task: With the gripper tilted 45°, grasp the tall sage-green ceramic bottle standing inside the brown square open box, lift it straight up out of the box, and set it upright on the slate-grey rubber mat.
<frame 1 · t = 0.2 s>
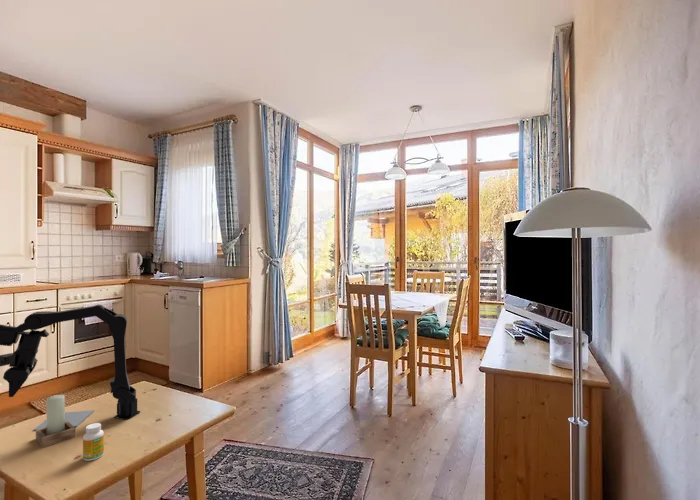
hand: (14, 392, 131), 15 cm above the table, tool pointing down, fingers open, 9 cm apart
green bottle: (55, 417, 130), in the brown square open box
mat: (65, 420, 143), on the table
brown square open box: (55, 437, 130), on the table
supplement bottle: (93, 457, 118), on the table
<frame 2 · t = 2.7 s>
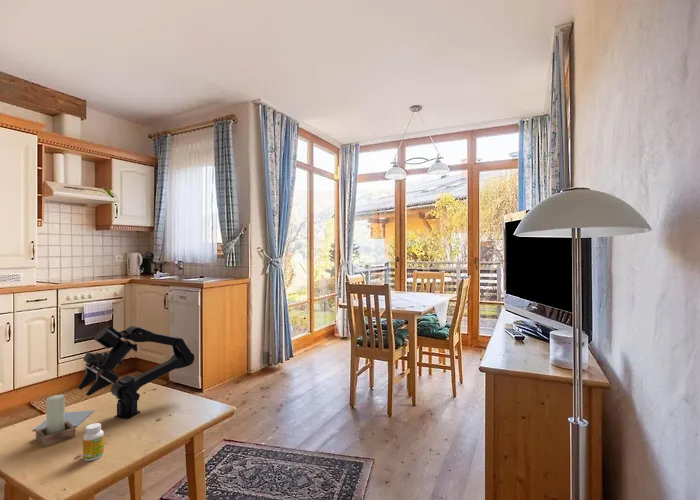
hand: (83, 392, 136), 13 cm above the table, tool tilted 45°, fingers open, 9 cm apart
nothing on the table moved.
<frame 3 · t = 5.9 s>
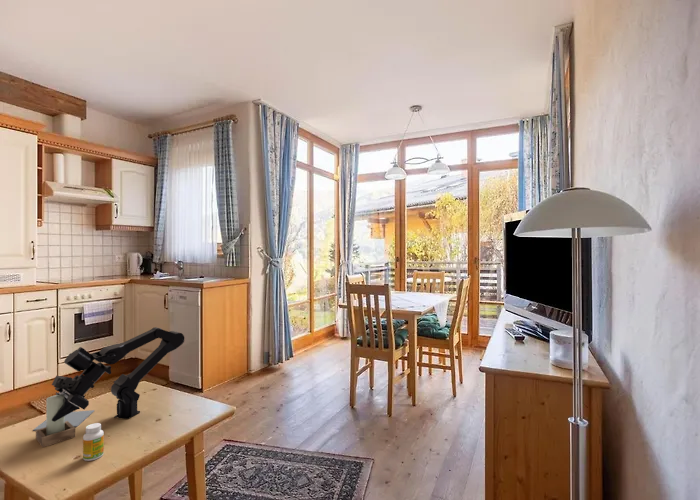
hand: (50, 418, 129), 7 cm above the table, tool tilted 45°, fingers closed on green bottle, 5 cm apart
green bottle: (55, 417, 130), in the brown square open box, touching gripper
everything else where it was.
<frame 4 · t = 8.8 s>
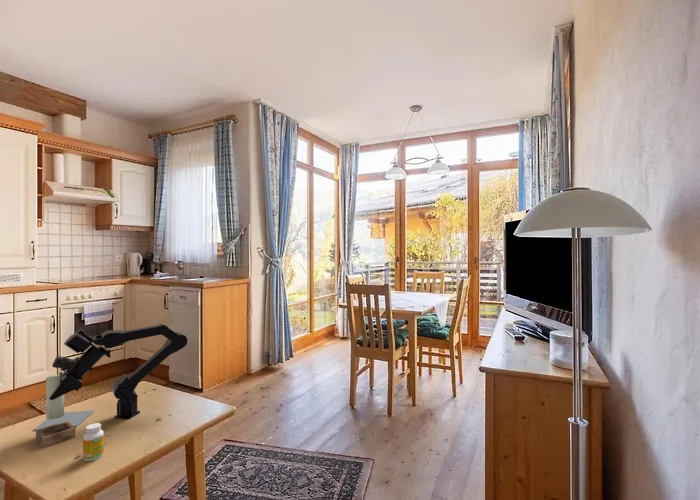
hand: (50, 397, 133), 13 cm above the table, tool tilted 45°, fingers closed on green bottle, 5 cm apart
green bottle: (55, 396, 133), point 13 cm above the table, touching gripper
everything else where it was.
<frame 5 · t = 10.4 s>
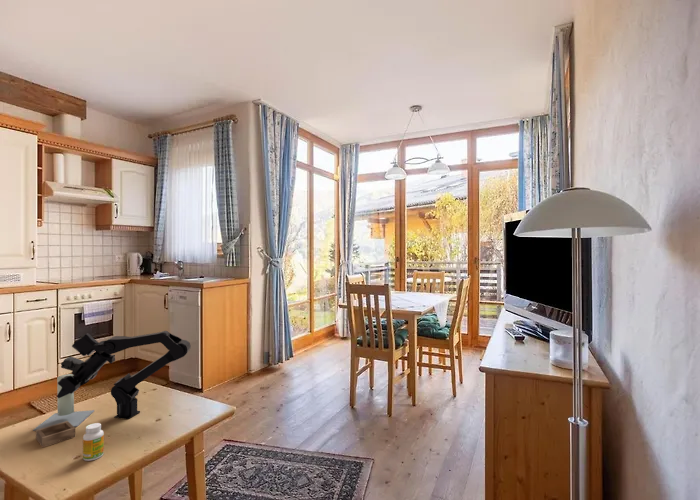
hand: (61, 394, 143), 10 cm above the table, tool tilted 45°, fingers closed on green bottle, 5 cm apart
green bottle: (65, 394, 143), point 10 cm above the table, touching gripper
everything else where it was.
when the fingers open (8 cm above the table, at t = 11.5 s): green bottle stays where it is, resting on mat.
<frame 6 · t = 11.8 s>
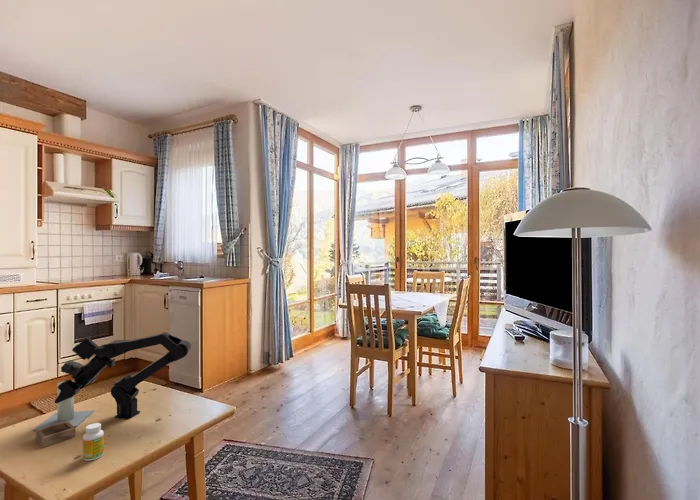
hand: (61, 398, 143), 8 cm above the table, tool tilted 45°, fingers open, 8 cm apart
green bottle: (65, 400, 143), on the mat
everything else where it was.
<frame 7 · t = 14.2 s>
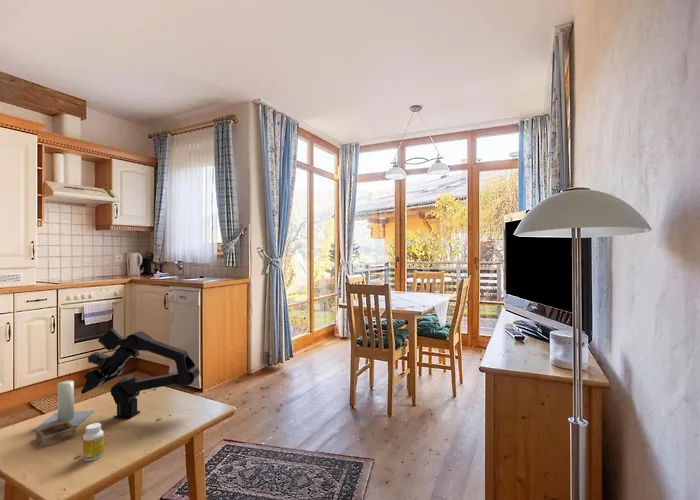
hand: (89, 389, 145), 11 cm above the table, tool tilted 45°, fingers open, 9 cm apart
nothing on the table moved.
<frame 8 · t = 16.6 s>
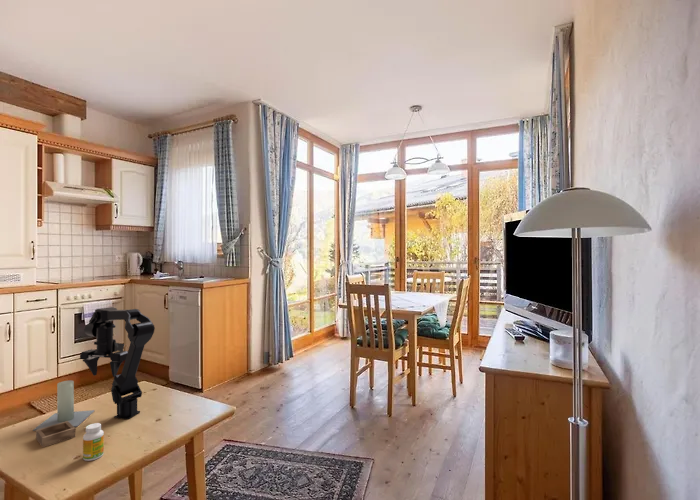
hand: (104, 375, 155), 13 cm above the table, tool pointing down, fingers open, 9 cm apart
nothing on the table moved.
at the end: green bottle inside the target area on the mat (0.1 cm from its centre), point 7.4 cm above the mat's base; green bottle tilted 0°; the gripper is holding nothing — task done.
